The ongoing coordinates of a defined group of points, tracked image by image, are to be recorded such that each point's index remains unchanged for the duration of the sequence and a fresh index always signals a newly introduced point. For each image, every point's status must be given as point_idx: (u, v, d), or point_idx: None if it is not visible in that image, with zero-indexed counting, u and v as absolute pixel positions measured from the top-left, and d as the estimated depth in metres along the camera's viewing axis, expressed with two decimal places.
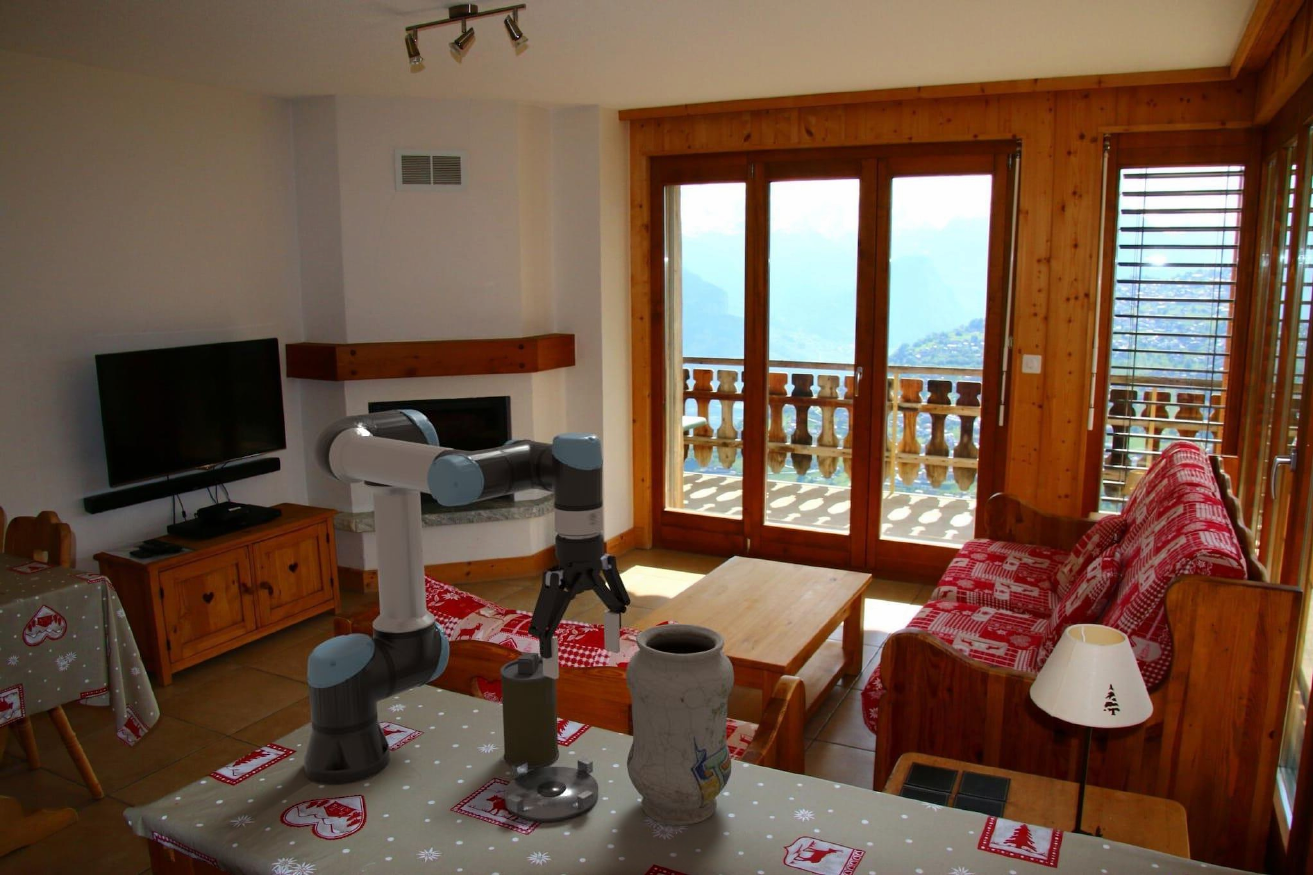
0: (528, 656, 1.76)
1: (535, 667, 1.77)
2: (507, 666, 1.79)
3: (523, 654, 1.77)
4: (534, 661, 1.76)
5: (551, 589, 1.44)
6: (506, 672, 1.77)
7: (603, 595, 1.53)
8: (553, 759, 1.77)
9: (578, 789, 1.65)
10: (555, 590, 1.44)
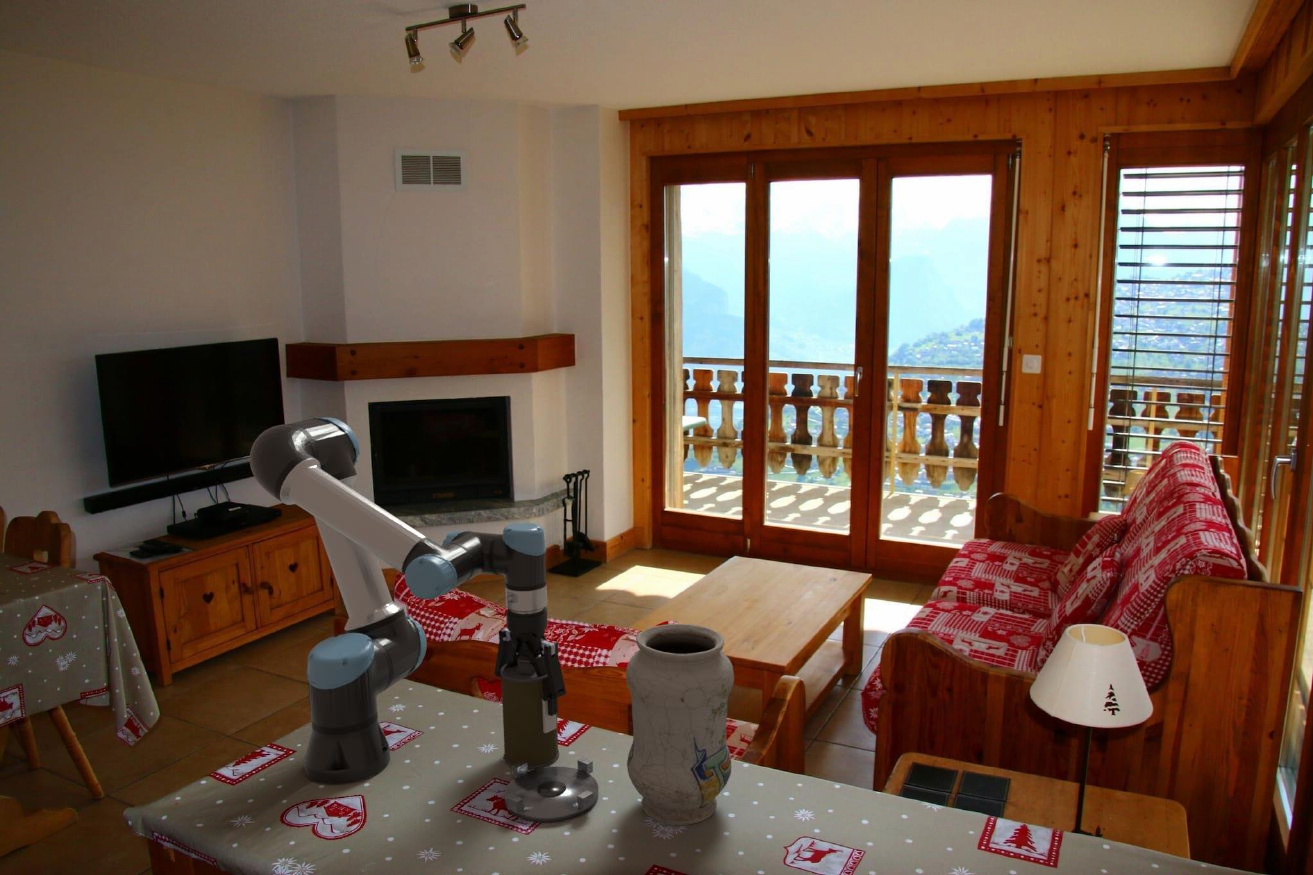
0: None
1: None
2: (507, 666, 1.79)
3: None
4: None
5: None
6: (506, 672, 1.77)
7: None
8: (553, 759, 1.77)
9: (578, 789, 1.65)
10: (501, 643, 1.80)
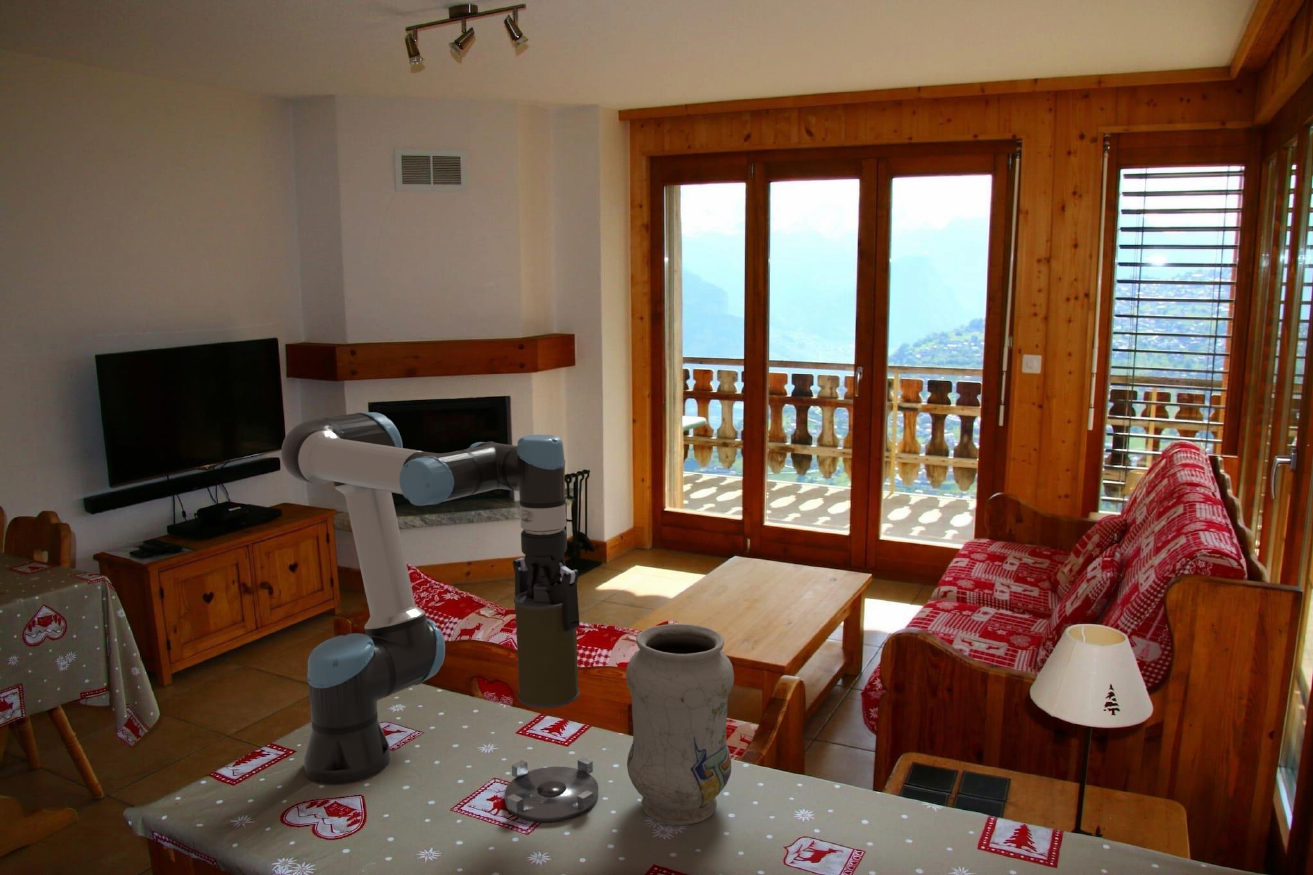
0: None
1: None
2: (521, 595, 1.61)
3: None
4: None
5: None
6: (520, 601, 1.59)
7: None
8: (573, 698, 1.60)
9: (578, 789, 1.65)
10: (517, 574, 1.62)
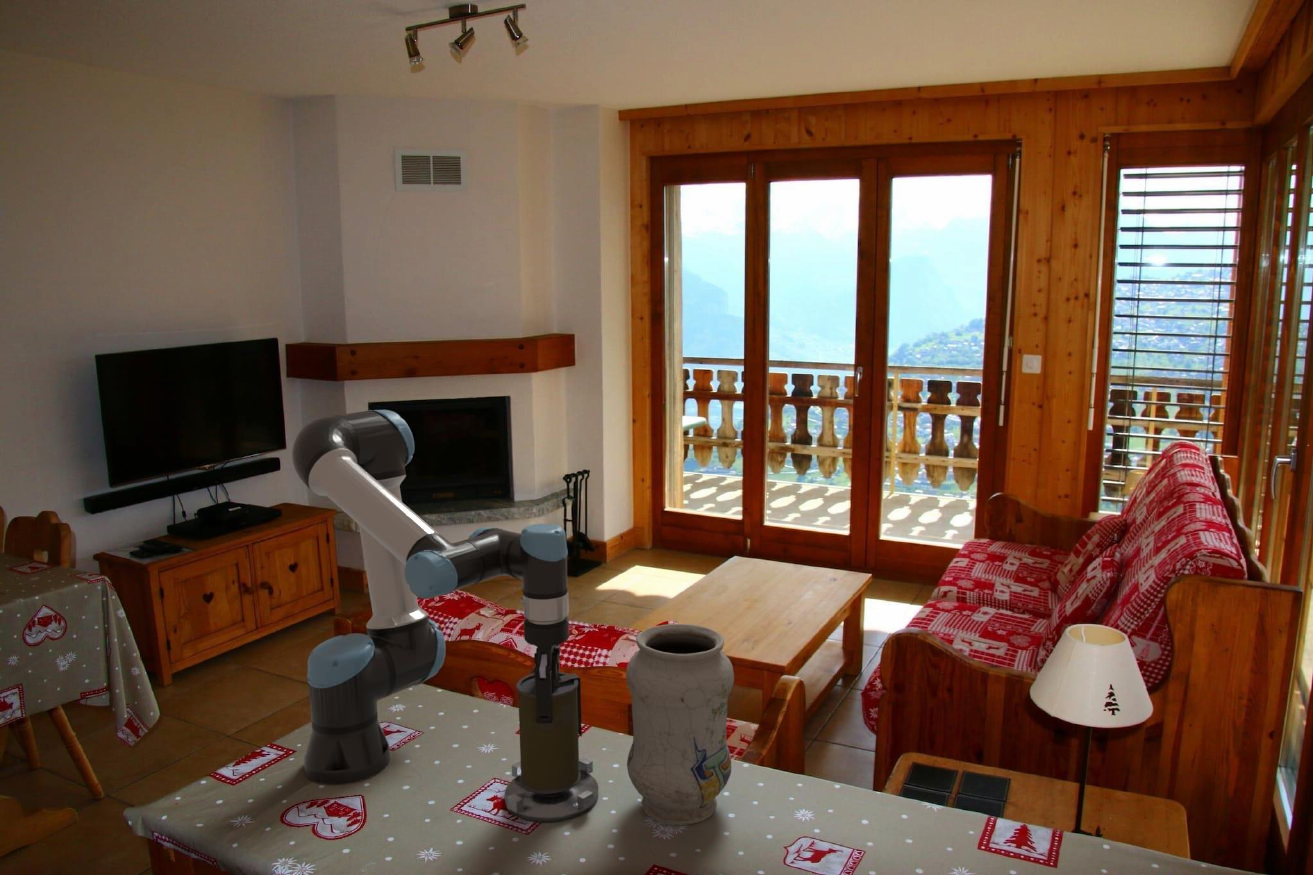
0: None
1: None
2: None
3: None
4: None
5: None
6: (531, 679, 1.65)
7: None
8: (552, 790, 1.59)
9: (578, 789, 1.65)
10: None
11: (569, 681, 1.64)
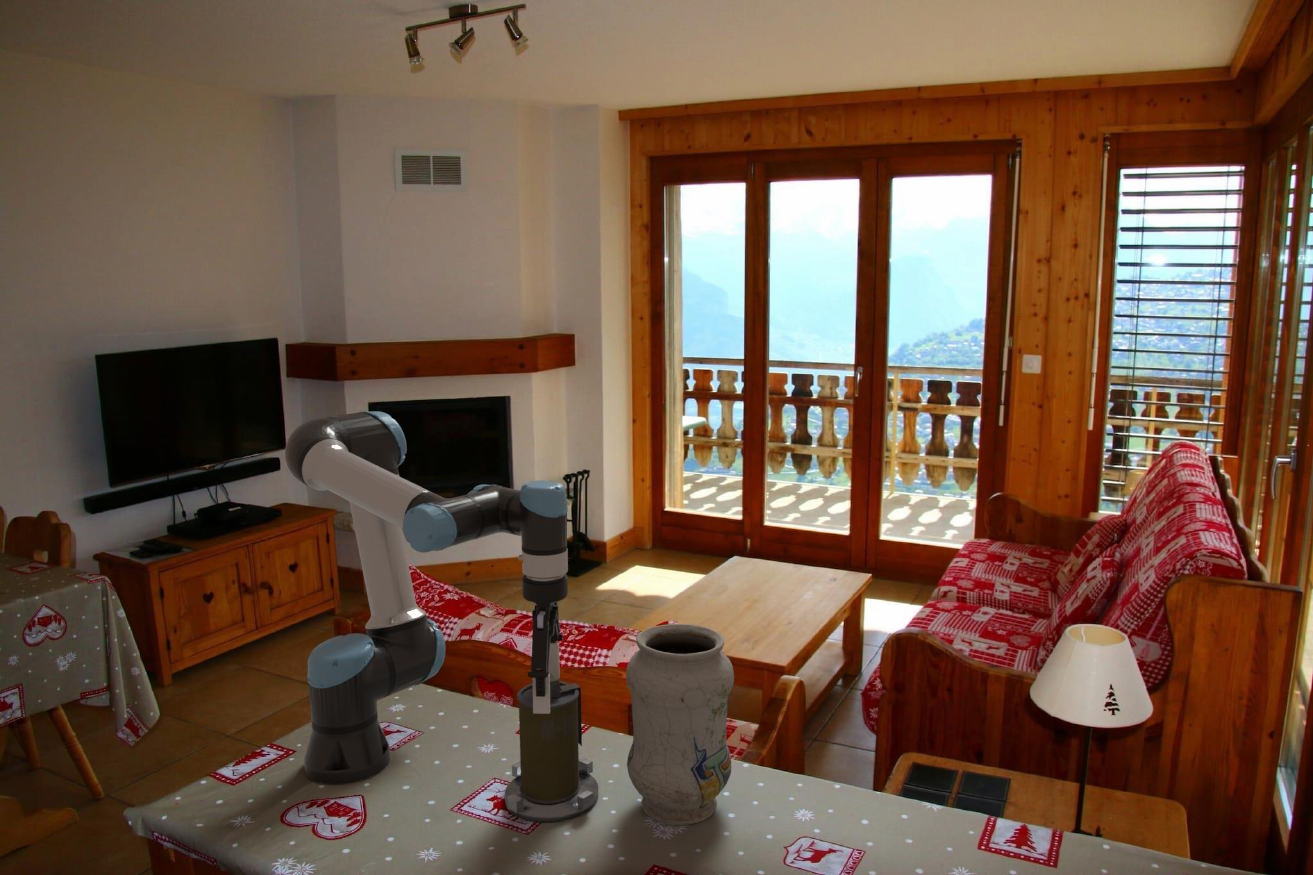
0: None
1: (550, 694, 1.61)
2: None
3: None
4: None
5: None
6: (532, 689, 1.65)
7: None
8: (552, 800, 1.60)
9: None
10: None
11: (570, 691, 1.64)
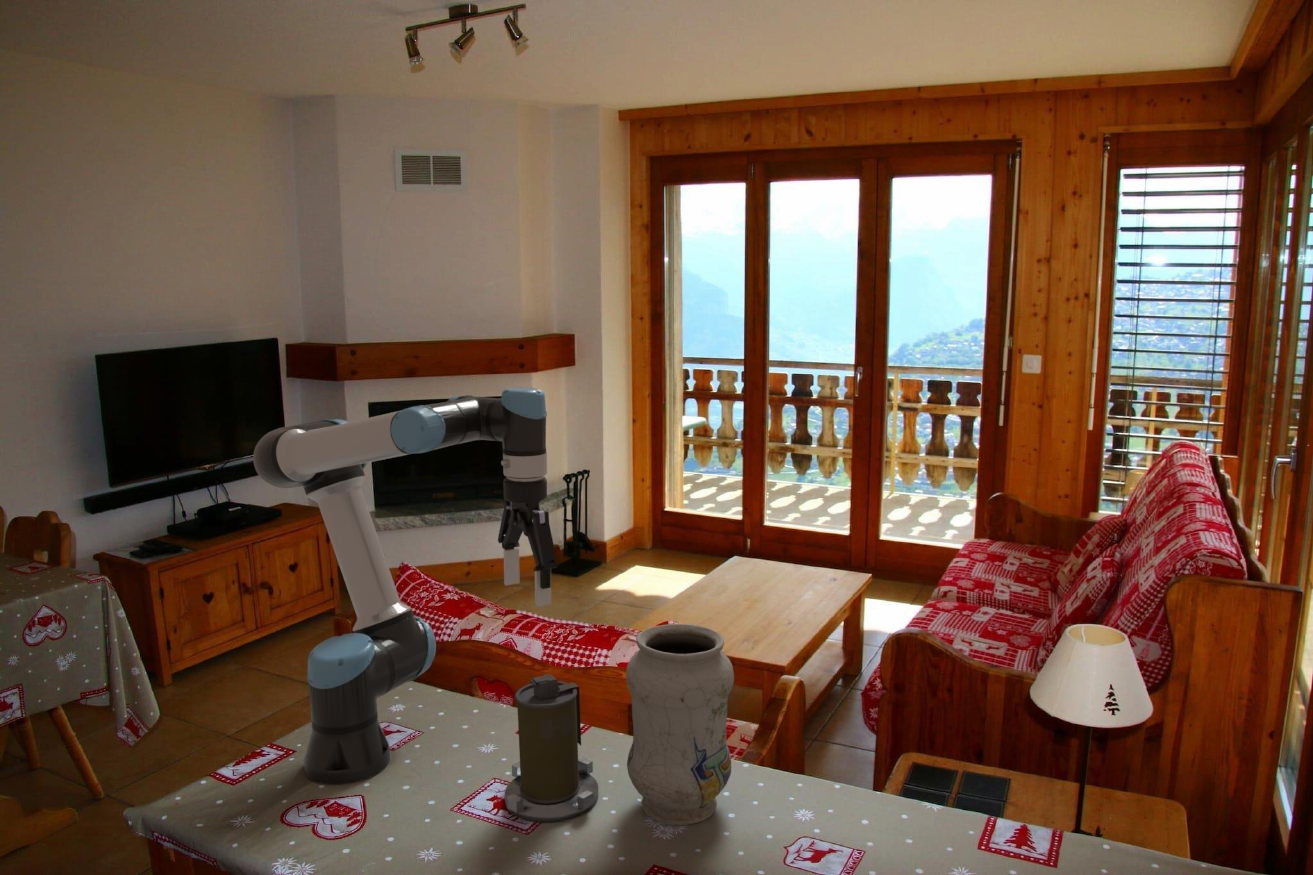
0: (542, 679, 1.61)
1: (548, 693, 1.61)
2: None
3: (544, 676, 1.63)
4: (545, 686, 1.60)
5: None
6: (530, 689, 1.65)
7: None
8: (552, 800, 1.60)
9: None
10: (504, 511, 1.72)
11: (568, 690, 1.64)
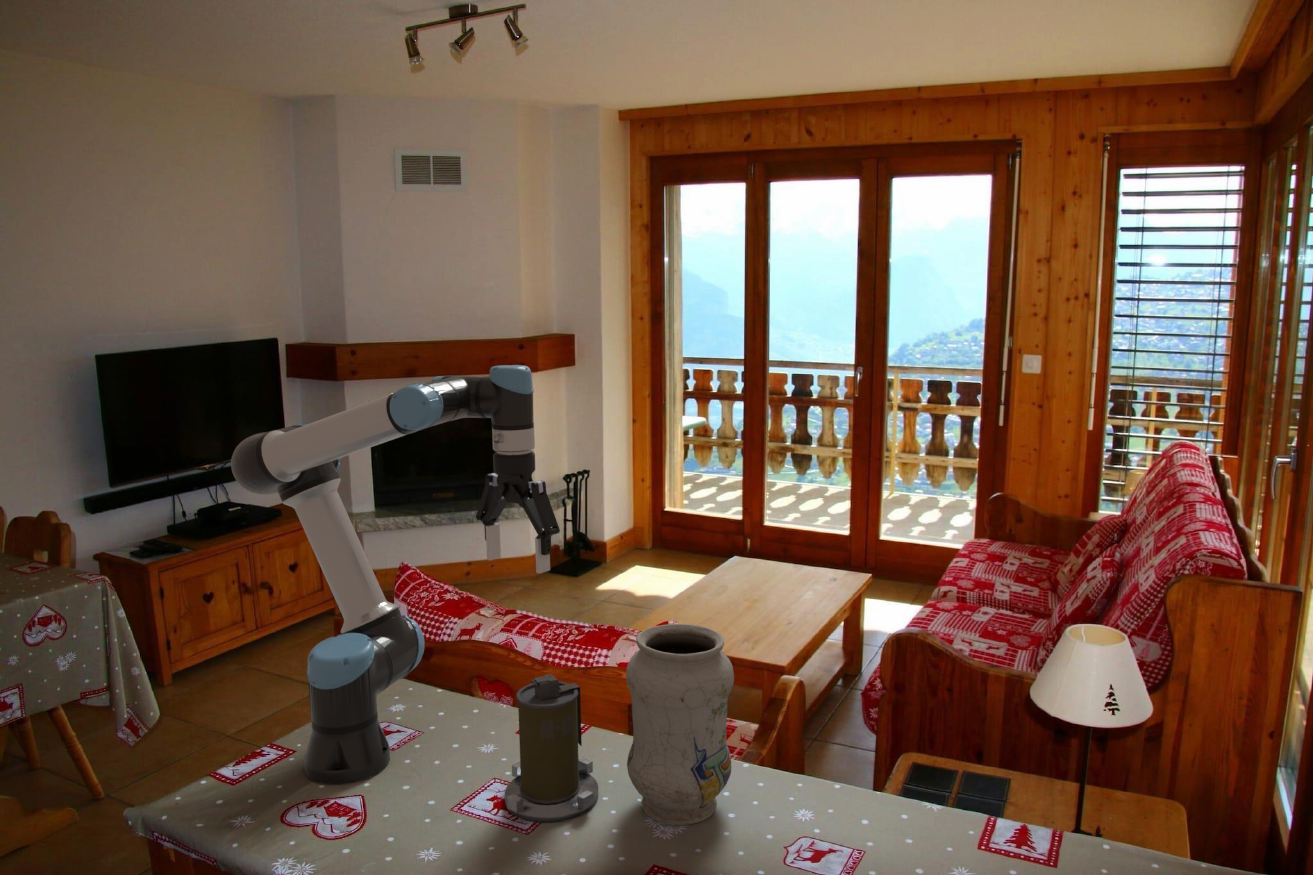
0: (543, 680, 1.61)
1: (549, 694, 1.61)
2: None
3: (545, 676, 1.62)
4: (547, 687, 1.60)
5: None
6: (531, 689, 1.65)
7: None
8: (552, 800, 1.60)
9: None
10: (486, 487, 1.77)
11: (569, 690, 1.64)
